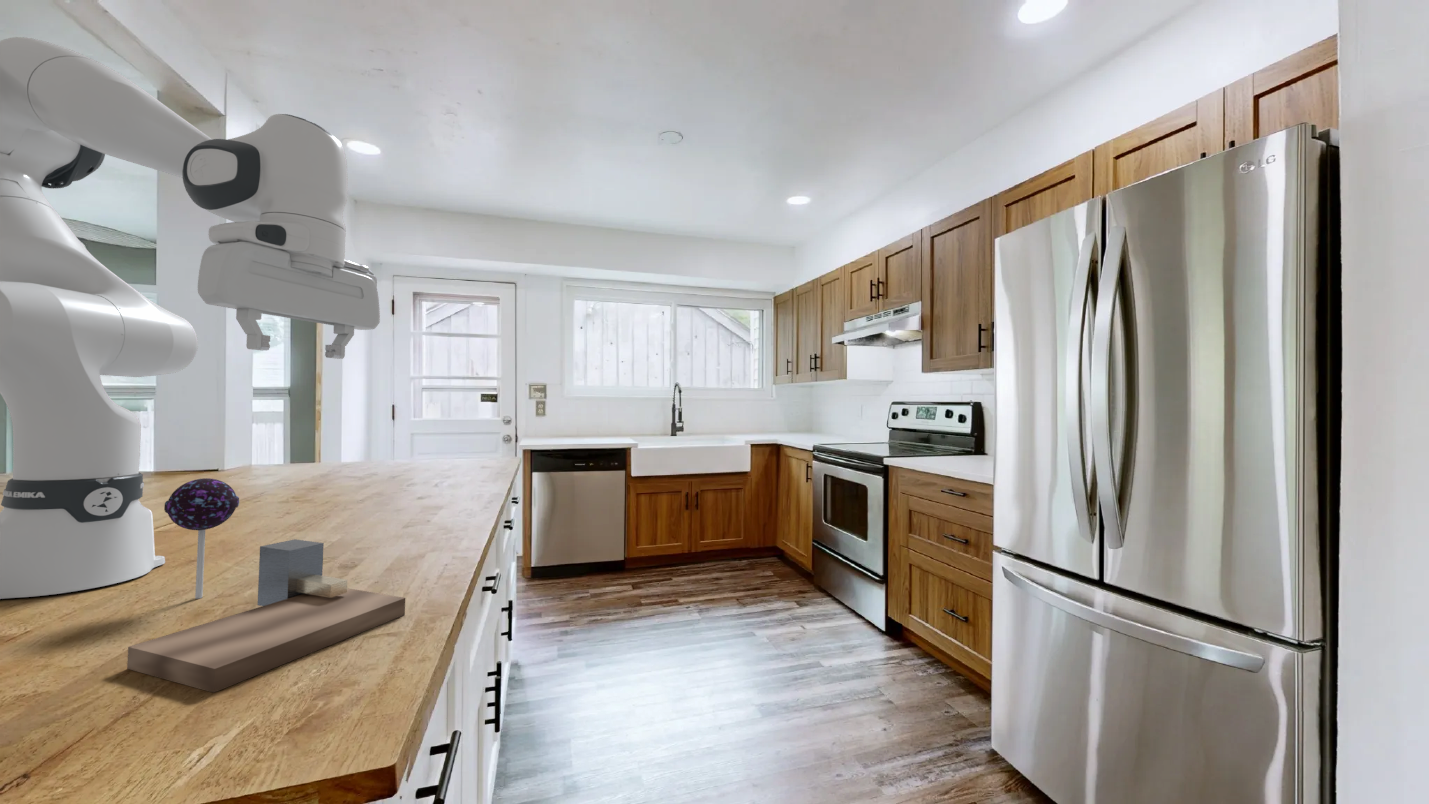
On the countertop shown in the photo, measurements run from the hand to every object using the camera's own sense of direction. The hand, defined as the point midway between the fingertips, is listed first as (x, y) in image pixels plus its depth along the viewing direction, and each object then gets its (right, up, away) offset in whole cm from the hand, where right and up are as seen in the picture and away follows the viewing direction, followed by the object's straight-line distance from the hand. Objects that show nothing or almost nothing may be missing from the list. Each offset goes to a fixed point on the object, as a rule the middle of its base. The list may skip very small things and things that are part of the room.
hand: (298, 354), depth 69 cm
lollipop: (-12, -31, -1) cm, 33 cm away
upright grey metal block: (+4, -31, -4) cm, 31 cm away
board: (+8, -31, -12) cm, 34 cm away
